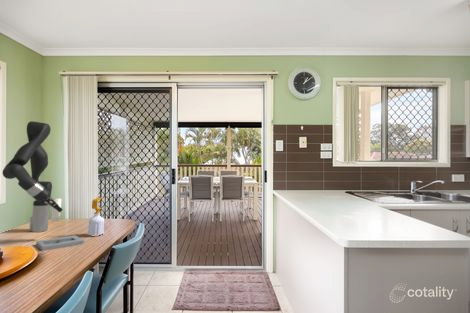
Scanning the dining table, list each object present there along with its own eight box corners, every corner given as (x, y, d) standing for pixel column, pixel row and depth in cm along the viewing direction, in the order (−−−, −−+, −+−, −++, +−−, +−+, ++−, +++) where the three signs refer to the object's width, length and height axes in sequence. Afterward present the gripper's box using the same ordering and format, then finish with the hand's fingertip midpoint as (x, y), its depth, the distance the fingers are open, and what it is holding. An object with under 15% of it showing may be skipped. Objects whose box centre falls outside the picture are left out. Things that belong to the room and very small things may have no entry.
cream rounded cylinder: (49, 220, 155) (51, 199, 156) (54, 219, 160) (55, 198, 160) (57, 221, 156) (58, 199, 156) (61, 219, 160) (63, 198, 161)
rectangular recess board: (42, 250, 136) (42, 247, 137) (36, 244, 146) (36, 241, 146) (83, 243, 151) (84, 240, 151) (75, 238, 161) (76, 235, 161)
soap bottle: (106, 234, 174) (108, 197, 175) (95, 237, 165) (98, 199, 166) (95, 232, 176) (98, 196, 177) (84, 235, 168) (87, 198, 169)
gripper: (46, 188, 148) (68, 207, 157) (40, 185, 158) (62, 204, 166) (34, 197, 144) (58, 217, 153) (29, 194, 154) (51, 213, 162)
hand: (60, 210), depth 159 cm, fingers closed on cream rounded cylinder, 4 cm apart
